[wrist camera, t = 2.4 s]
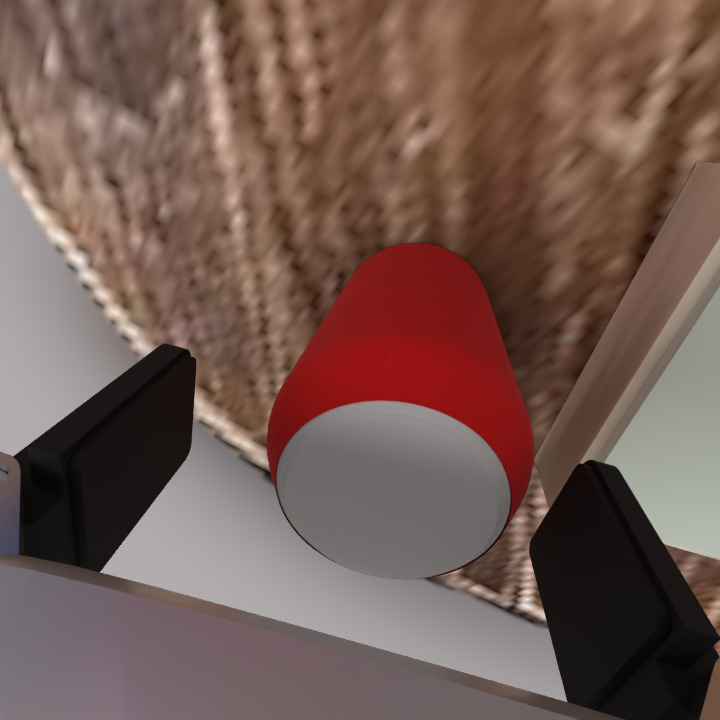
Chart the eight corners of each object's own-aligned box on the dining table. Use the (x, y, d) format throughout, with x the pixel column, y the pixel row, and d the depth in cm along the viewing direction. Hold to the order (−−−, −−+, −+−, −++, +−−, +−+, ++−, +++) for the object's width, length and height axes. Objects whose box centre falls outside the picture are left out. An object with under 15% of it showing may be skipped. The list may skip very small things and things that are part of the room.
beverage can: (323, 269, 19) (184, 425, 9) (460, 213, 17) (500, 325, 7) (376, 383, 21) (317, 621, 11) (503, 345, 19) (584, 587, 9)
